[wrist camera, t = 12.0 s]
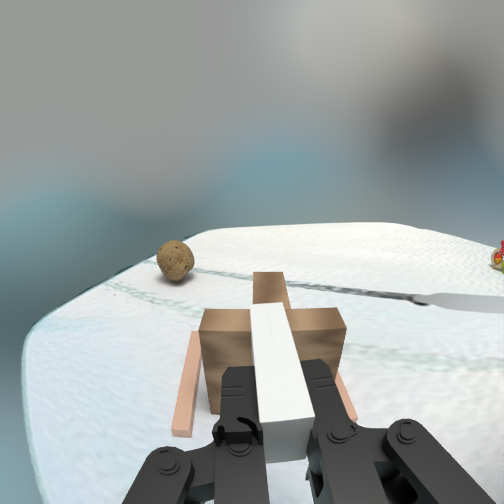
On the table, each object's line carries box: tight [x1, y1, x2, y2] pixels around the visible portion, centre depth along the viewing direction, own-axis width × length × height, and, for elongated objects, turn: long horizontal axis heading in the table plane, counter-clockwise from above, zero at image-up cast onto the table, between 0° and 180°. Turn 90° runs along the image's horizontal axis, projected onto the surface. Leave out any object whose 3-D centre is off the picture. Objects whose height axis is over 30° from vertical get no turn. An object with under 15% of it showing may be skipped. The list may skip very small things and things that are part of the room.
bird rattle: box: [491, 241, 504, 274], centre depth 65 cm, size 6×11×9 cm
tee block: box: [198, 272, 347, 415], centre depth 34 cm, size 14×14×13 cm
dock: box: [171, 331, 358, 437], centre depth 35 cm, size 21×20×2 cm
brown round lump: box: [157, 240, 194, 282], centre depth 65 cm, size 9×9×10 cm
